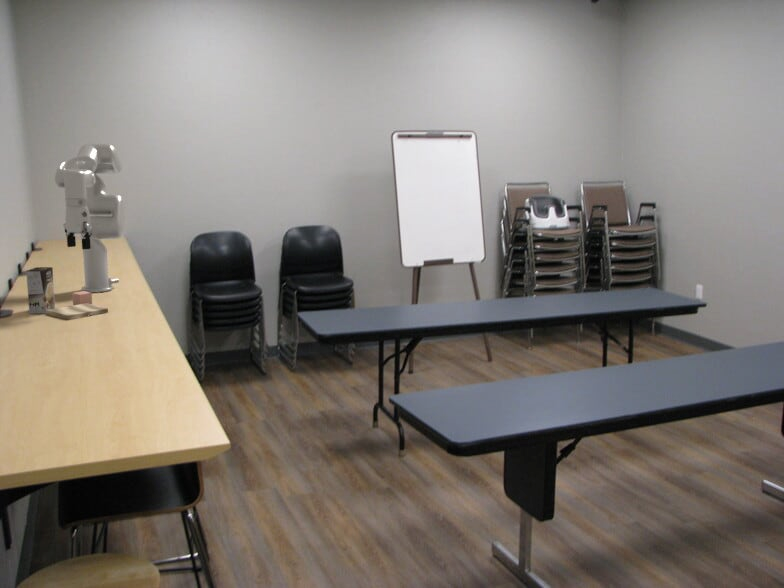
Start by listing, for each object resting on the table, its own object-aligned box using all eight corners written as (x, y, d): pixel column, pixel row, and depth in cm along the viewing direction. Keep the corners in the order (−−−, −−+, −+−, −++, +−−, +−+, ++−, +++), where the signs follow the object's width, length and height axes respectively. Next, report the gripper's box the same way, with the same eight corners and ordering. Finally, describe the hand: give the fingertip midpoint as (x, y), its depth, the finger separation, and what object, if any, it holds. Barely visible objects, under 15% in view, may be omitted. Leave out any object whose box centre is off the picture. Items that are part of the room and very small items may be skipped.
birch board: (86, 306, 285) (86, 303, 284) (108, 312, 277) (107, 308, 277) (47, 314, 272) (46, 310, 272) (68, 319, 264) (68, 315, 264)
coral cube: (84, 303, 291) (84, 291, 290) (92, 305, 288) (91, 292, 287) (73, 305, 287) (72, 292, 286) (80, 307, 284) (79, 294, 283)
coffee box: (46, 313, 272) (43, 271, 269) (28, 313, 272) (25, 270, 268) (55, 308, 281) (52, 266, 278) (38, 308, 281) (35, 266, 277)
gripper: (98, 204, 278) (101, 249, 281) (72, 201, 288) (75, 245, 291) (80, 205, 272) (83, 251, 275) (54, 202, 282) (57, 246, 285)
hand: (78, 247), depth 283 cm, fingers open, 9 cm apart
